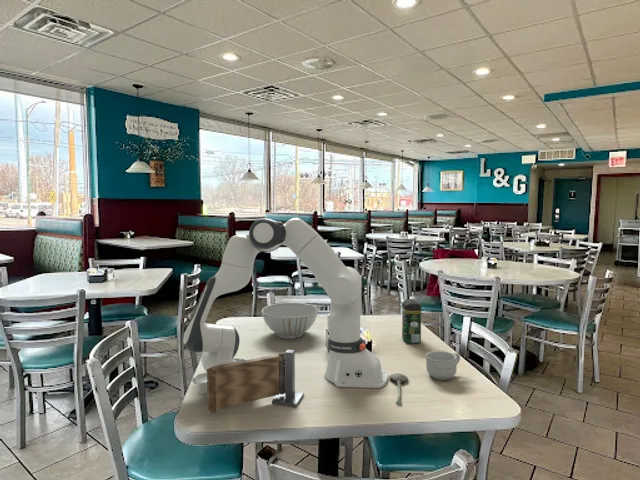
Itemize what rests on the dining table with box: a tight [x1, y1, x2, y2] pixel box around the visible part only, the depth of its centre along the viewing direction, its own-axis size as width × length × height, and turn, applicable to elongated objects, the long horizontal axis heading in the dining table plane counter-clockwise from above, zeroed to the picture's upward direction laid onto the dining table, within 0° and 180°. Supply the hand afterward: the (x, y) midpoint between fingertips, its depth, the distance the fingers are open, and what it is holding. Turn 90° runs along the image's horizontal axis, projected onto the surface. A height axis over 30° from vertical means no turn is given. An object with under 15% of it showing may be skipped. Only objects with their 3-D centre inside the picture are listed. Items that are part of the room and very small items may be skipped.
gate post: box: [271, 349, 305, 408], centre depth 131 cm, size 8×8×16 cm
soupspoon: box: [388, 372, 409, 405], centre depth 140 cm, size 22×3×7 cm
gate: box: [206, 351, 285, 414], centre depth 127 cm, size 24×2×13 cm, turn 118°
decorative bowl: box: [260, 302, 319, 339], centre depth 196 cm, size 27×27×12 cm
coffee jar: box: [401, 298, 422, 345], centre depth 187 cm, size 10×8×19 cm
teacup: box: [425, 350, 461, 381], centre depth 149 cm, size 14×11×8 cm
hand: (235, 388), depth 125 cm, fingers closed, pressing on gate
